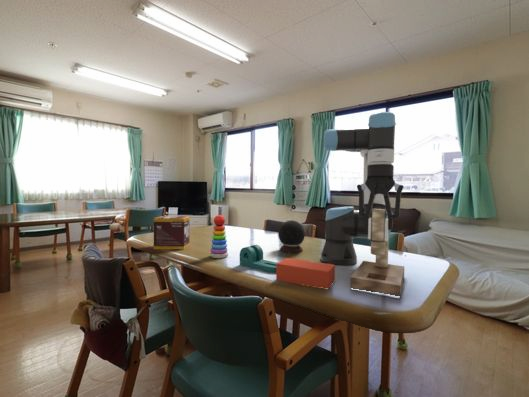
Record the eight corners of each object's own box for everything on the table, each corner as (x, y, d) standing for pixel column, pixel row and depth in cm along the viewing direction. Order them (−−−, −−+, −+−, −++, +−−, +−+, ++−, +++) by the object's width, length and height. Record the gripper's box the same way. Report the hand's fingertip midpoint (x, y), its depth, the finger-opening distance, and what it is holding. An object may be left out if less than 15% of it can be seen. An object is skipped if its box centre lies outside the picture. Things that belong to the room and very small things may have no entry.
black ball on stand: (279, 253, 131) (279, 222, 130) (276, 247, 144) (277, 218, 144) (307, 253, 132) (307, 222, 131) (302, 247, 145) (302, 218, 144)
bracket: (239, 265, 112) (239, 246, 112) (250, 262, 118) (250, 243, 117) (276, 274, 101) (276, 253, 101) (286, 270, 107) (286, 250, 106)
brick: (275, 280, 95) (276, 263, 95) (286, 273, 103) (286, 257, 103) (327, 290, 87) (328, 271, 86) (334, 281, 95) (335, 264, 94)
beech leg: (369, 254, 86) (370, 209, 85) (371, 251, 90) (372, 208, 89) (384, 256, 84) (385, 210, 83) (385, 253, 88) (387, 209, 87)
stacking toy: (231, 257, 124) (231, 215, 123) (214, 259, 120) (214, 216, 119) (223, 253, 131) (223, 213, 130) (207, 255, 126) (207, 214, 125)
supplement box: (184, 249, 137) (184, 218, 136) (153, 249, 137) (153, 218, 137) (190, 245, 148) (190, 216, 147) (161, 244, 148) (161, 215, 147)
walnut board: (350, 289, 87) (351, 245, 86) (363, 271, 106) (364, 234, 105) (399, 299, 80) (401, 251, 79) (404, 277, 99) (405, 238, 98)
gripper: (349, 164, 87) (347, 238, 88) (411, 162, 78) (408, 244, 79) (354, 165, 93) (352, 235, 94) (412, 164, 85) (409, 240, 86)
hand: (378, 239), depth 87 cm, fingers closed on beech leg, 4 cm apart
